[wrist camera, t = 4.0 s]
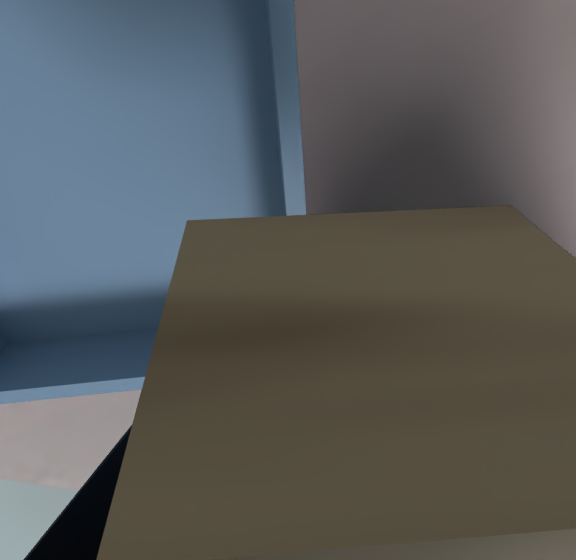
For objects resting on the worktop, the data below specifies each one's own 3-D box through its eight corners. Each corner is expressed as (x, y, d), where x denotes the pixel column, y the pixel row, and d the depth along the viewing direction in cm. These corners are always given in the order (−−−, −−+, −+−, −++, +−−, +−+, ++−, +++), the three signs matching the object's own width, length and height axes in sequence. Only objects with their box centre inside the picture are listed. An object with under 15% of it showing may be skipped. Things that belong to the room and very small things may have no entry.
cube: (455, 425, 10) (611, 750, 6) (218, 442, 10) (195, 794, 5) (510, 205, 7) (876, 504, 3) (186, 220, 7) (93, 568, 3)
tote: (306, 316, 21) (315, 371, 18) (4, 347, 20) (-38, 408, 17) (268, -244, 12) (274, -327, 9) (-275, -202, 11) (-463, -272, 8)
